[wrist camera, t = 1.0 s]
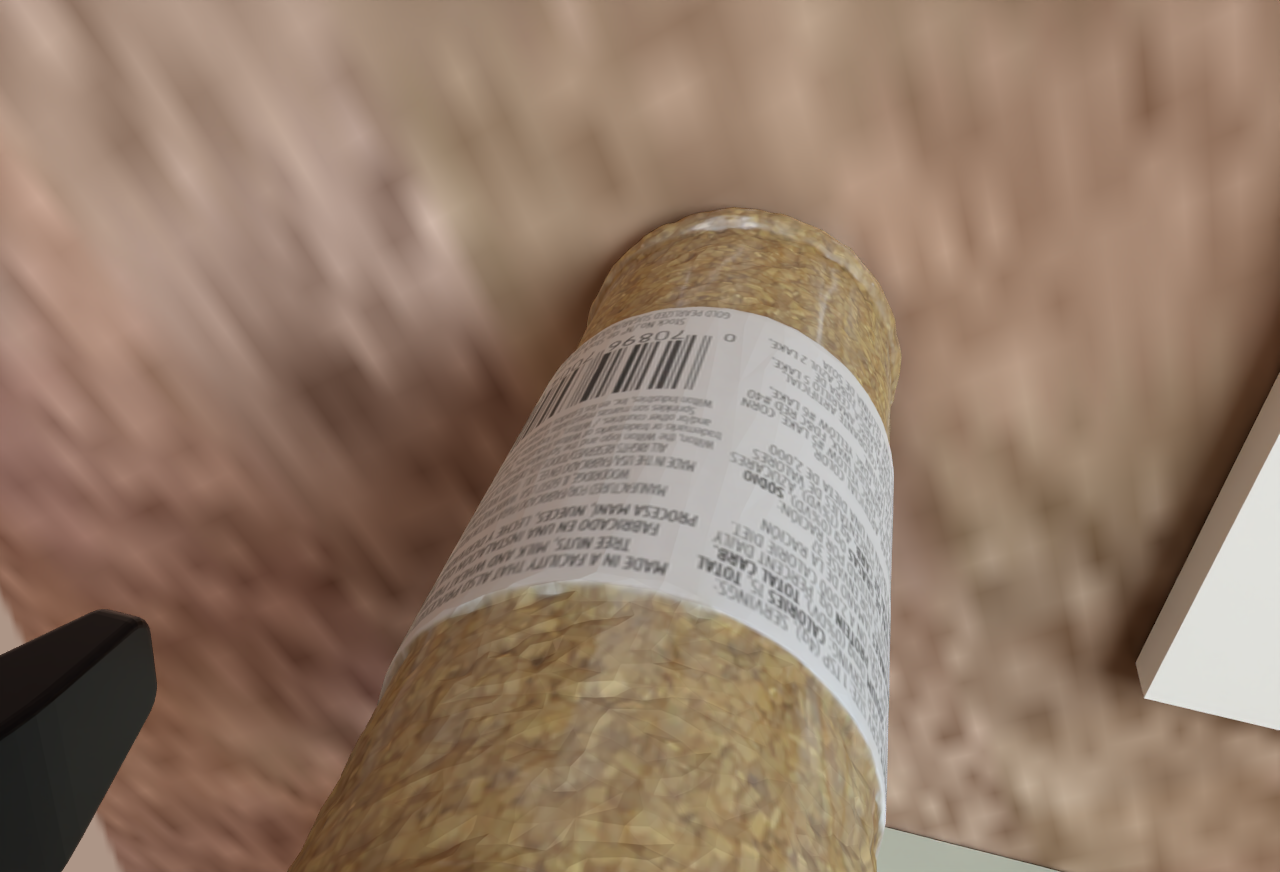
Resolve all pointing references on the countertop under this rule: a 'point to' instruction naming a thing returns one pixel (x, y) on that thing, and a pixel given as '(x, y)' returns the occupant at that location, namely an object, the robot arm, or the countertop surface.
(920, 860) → the pale green board
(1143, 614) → the countertop surface
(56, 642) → the robot arm
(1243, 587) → the tile pad
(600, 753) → the seasoning jar
